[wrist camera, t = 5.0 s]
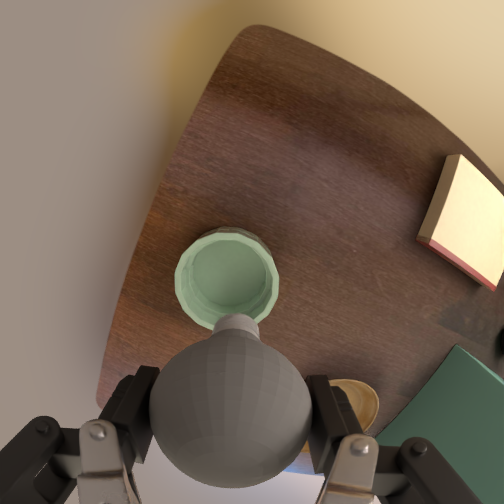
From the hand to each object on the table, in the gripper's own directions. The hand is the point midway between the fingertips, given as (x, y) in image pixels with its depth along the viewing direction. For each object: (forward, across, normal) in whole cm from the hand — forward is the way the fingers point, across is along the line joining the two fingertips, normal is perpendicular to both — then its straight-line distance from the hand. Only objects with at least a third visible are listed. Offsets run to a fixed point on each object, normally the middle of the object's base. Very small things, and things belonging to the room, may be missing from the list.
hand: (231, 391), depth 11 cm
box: (+21, -36, +26) cm, 50 cm away
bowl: (+21, +1, +1) cm, 21 cm away
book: (+21, -30, -6) cm, 37 cm away
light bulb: (+6, 0, 0) cm, 6 cm away
